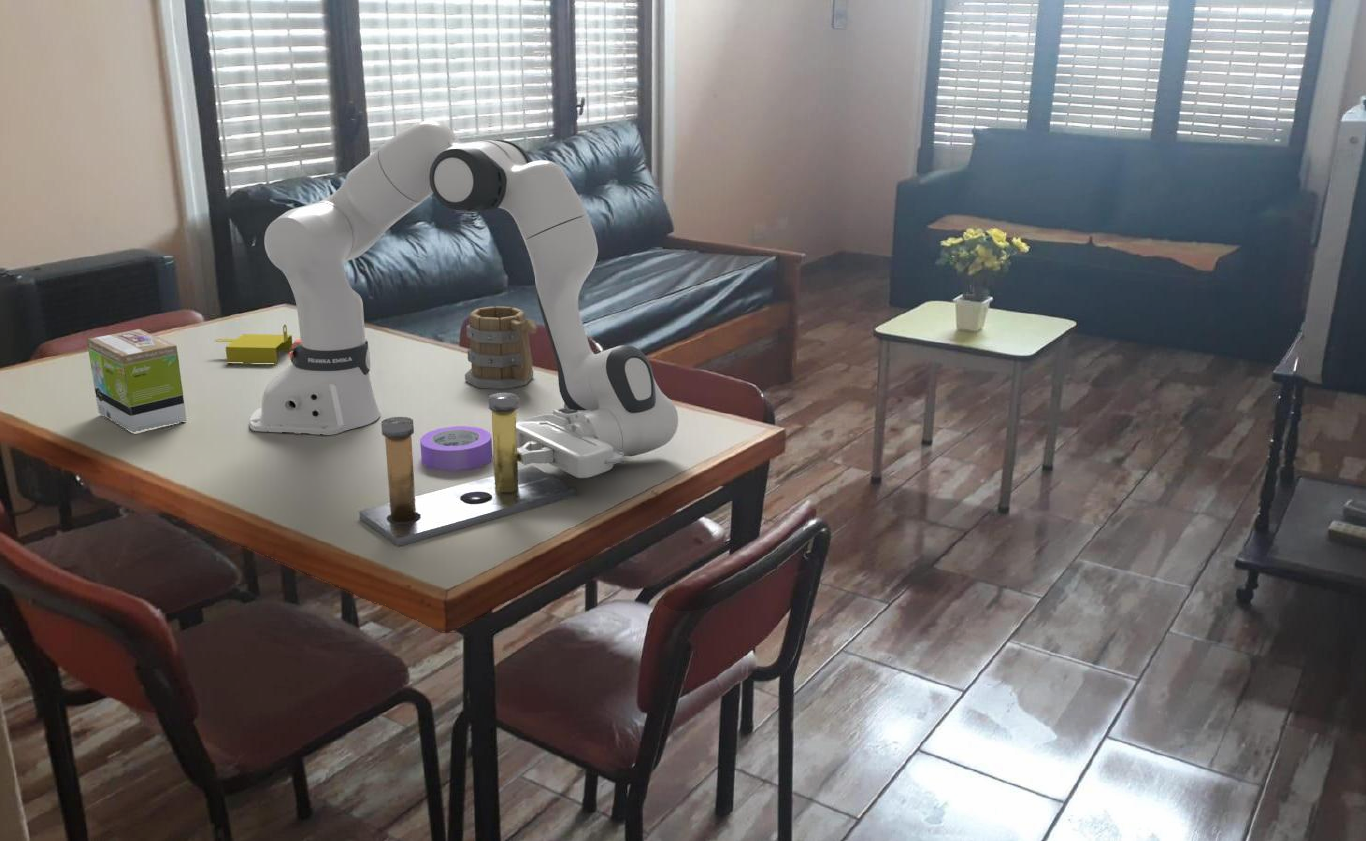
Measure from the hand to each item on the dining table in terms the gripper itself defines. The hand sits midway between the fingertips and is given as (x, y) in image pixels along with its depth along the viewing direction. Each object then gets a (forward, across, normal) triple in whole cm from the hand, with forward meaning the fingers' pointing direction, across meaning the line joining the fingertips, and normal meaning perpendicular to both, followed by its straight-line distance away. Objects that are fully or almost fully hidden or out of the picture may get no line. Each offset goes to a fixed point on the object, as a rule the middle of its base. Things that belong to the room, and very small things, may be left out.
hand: (517, 457), depth 183 cm
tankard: (-30, +50, -6) cm, 58 cm away
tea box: (+34, +72, -6) cm, 79 cm away
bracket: (+3, +99, -7) cm, 99 cm away
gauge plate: (+8, +1, -6) cm, 10 cm away
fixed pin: (+19, +1, -5) cm, 20 cm away
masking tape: (-1, +20, -7) cm, 21 cm away
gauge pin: (+2, 0, -5) cm, 5 cm away
